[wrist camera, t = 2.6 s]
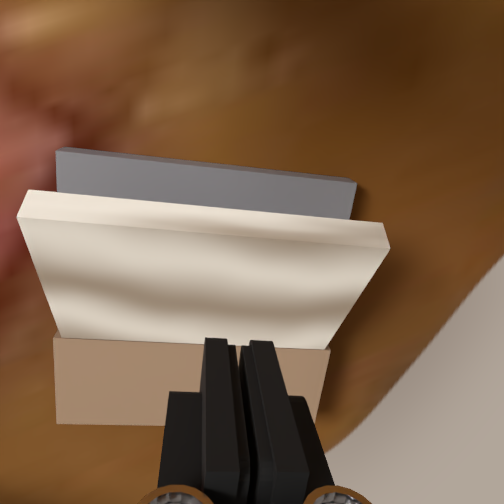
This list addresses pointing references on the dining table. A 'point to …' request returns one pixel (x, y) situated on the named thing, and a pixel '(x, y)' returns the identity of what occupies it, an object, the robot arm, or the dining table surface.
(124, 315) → the pale plank
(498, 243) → the dining table surface
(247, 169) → the floor sample board
